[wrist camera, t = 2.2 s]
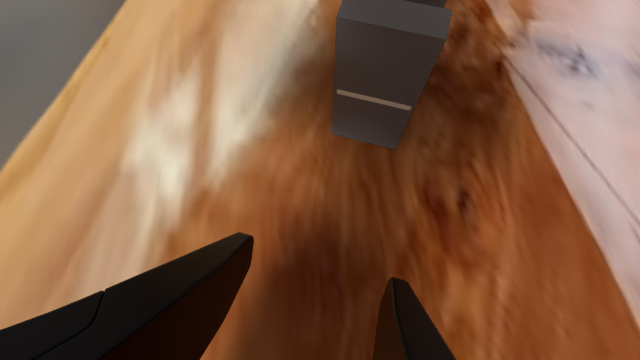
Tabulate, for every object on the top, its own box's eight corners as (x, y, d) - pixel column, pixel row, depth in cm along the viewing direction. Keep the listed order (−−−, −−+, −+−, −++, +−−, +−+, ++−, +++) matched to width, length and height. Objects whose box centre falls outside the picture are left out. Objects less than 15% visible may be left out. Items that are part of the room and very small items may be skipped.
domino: (395, 149, 24) (446, 39, 14) (332, 133, 25) (336, 17, 15) (400, 129, 25) (452, 9, 15) (338, 114, 26) (346, -12, 15)
